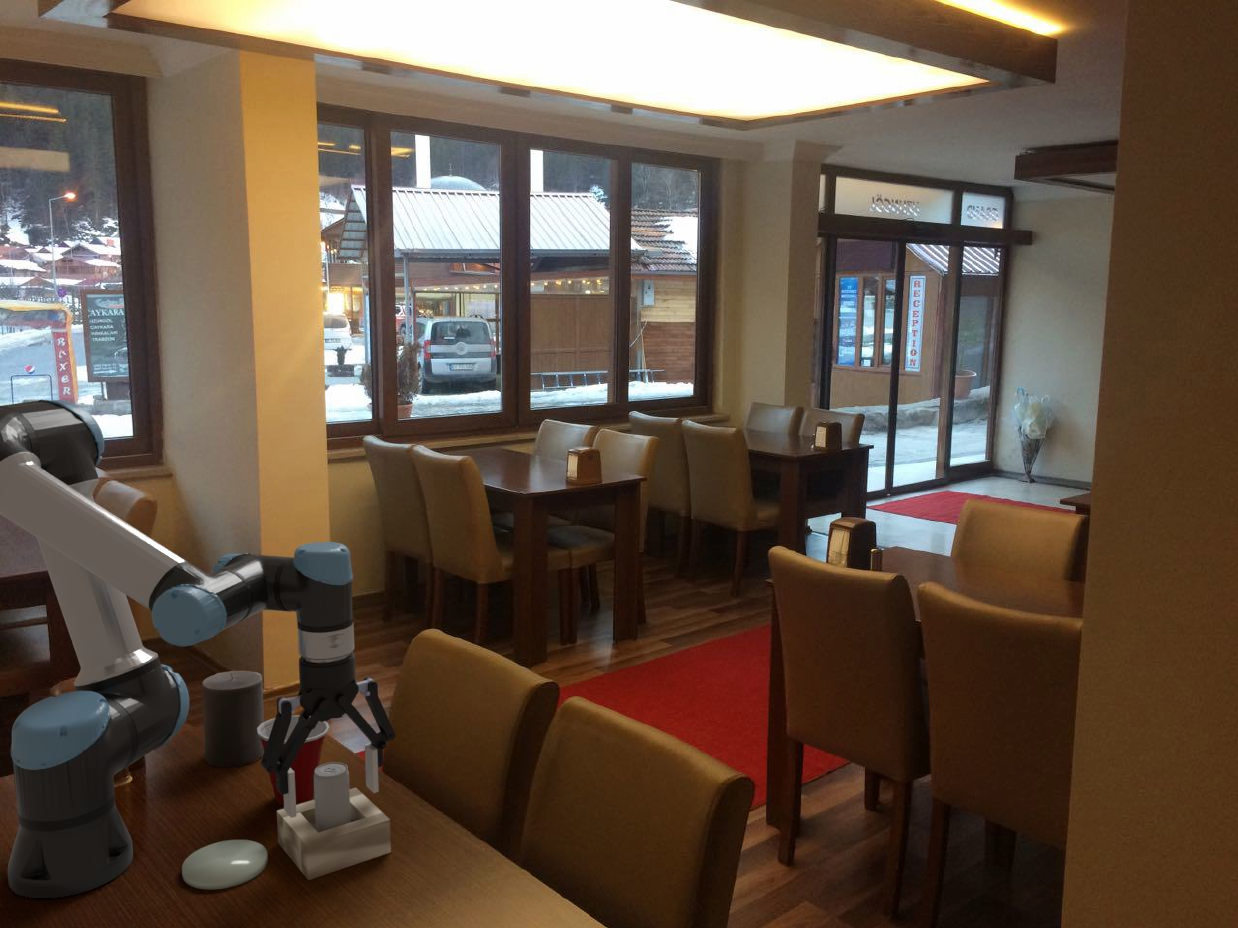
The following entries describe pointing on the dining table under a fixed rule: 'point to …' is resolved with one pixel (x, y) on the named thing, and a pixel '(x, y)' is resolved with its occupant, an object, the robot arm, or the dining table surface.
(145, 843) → the dining table surface
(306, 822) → the birch sleeve
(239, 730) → the pillar candle
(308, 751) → the plastic cup
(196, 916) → the dining table surface
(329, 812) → the beverage can
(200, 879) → the pale green cabochon
